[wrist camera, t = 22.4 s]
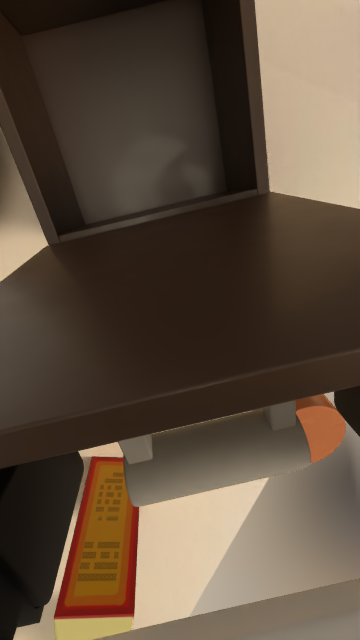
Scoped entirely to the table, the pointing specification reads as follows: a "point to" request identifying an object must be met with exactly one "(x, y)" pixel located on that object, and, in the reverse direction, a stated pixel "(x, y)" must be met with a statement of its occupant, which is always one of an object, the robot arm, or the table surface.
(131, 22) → the dark wooden lidded box
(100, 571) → the baking soda box
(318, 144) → the table surface
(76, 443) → the box top
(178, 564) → the table surface
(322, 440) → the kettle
